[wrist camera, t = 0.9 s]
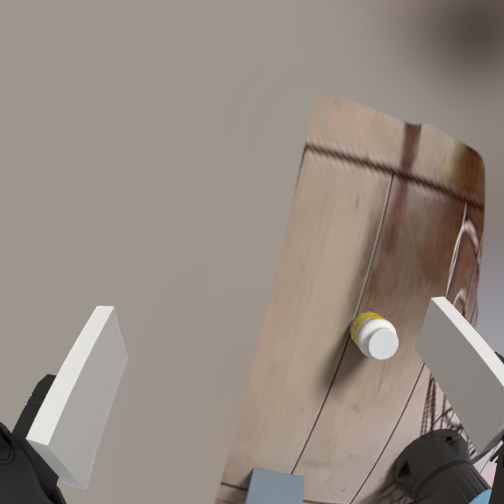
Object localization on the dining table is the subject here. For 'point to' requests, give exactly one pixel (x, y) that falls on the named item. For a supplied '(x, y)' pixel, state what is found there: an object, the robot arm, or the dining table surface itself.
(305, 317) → the dining table surface
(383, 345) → the supplement bottle
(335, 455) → the dining table surface
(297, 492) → the press housing
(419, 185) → the dining table surface
